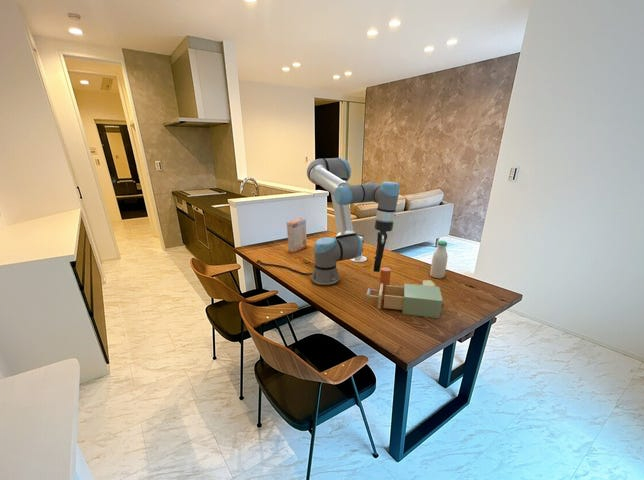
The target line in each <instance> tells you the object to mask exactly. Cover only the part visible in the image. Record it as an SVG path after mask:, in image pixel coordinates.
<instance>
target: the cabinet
mask: <svg viewBox="0 0 644 480" xmlns="http://www.w3.org/2000/svg"><path fill="white" fill-rule="evenodd" d="M403 287H404V303H403V310H401V314H402V315H409V316H417V317H424V318H432V319H433V318H435V319H440V317H441V313H442V308H443V301H444V299H443V296H442V292H441V289H440V288H441V287H440V286H436V285H435V286H426V285H423V284H414V283H405V282H404V283H403Z"/></svg>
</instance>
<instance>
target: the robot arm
mask: <svg viewBox="0 0 644 480" xmlns="http://www.w3.org/2000/svg"><path fill="white" fill-rule="evenodd" d="M306 176H307V178H308V181H310V182H311V183H312V184H314V185H318V186H320V187H322V188H323V189H324V190H326V191H327V192H328V193H330V197H331V202H332V203H331V204H332V208H333V214H334V220H335V225H336V235H335V237H333V236H325V237H321V238H318V239H317V240H316V241H315V242H314V244H313V245H314V246H313V255H314V256H313V257H314V258H313V259H314V268H313V271H312V272H304V271H303V272H302V271H300V270H297V269H294V268H292V267H289V266H285V265H281V264H274V263H266V262H262V260H260V259H258V260H256V263H260V264H261V265H264V266H271V267H279V268H284V269H288V270H290V271H292V272H296V273H298V274H301V275H304V276H311V283H312V284H314V285H316V286H318V287H332V286H335V285H337V284H338V283H339V282H340V275H339V271H338V268H337V263H338V262H343V261H348V260H350V259H353V258H357V257H359V256H360V255H361V253H362V254H363V252H362V250H363V251H364V243H363V242H362V240H361V238H360V237H359V236H358V234H357V232H356V231H355V230H354V227H353V221H352V214H351V207H350V205H354V204H362V203H363V204H364V203H376V204H377V208H376V214H375V219H376V220H375V223H374V229H375V230H377V231H378V232H377V236H376V237H377V238H376V242H377V243H376V250H375V256H374V257H373V259H374V263H373V269H372V270H373V273H374V272H375V273H381V265H382V260H383V258H384V251H385V246H386V243H387V239H388V233H387V232H392V231H393V228H394V221H395V217H396V216H397V213H396V211H397V205H398V200H399V196H400V188H401V187H400V183H398V182H394V181H382V182H381V184H379V183H376V182H373V181H368V182H366V183H364V184H351V183H349V180H350V179H351V176H352V168H351V165H350V163H349V162H348V160H347V159H346V158H343V157H332V158H328V157H327V158H317V159H314V160H312V161H311V162H310V163H309V164H308V165H307V168H306Z"/></svg>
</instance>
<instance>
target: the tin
mask: <svg viewBox="0 0 644 480" xmlns="http://www.w3.org/2000/svg"><path fill="white" fill-rule="evenodd" d="M391 270H392V269H391V268H390V267H386V266H385V267H383V266H382V267H380V274H379V275H380V276H379V277H380V278H379V287H378V288H379V289H378V290H380V285H381V283H382V284H383V292H382V294H385V289H386V285H390V284H391V283H390V281H391V272H392V271H391Z"/></svg>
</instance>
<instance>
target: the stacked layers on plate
mask: <svg viewBox="0 0 644 480" xmlns="http://www.w3.org/2000/svg"><path fill="white" fill-rule="evenodd" d="M422 285H426V286H436V284H435V283H434V282H433V281H432V279H431V280H429V279H428V280H427V279H423V280H422Z"/></svg>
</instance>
